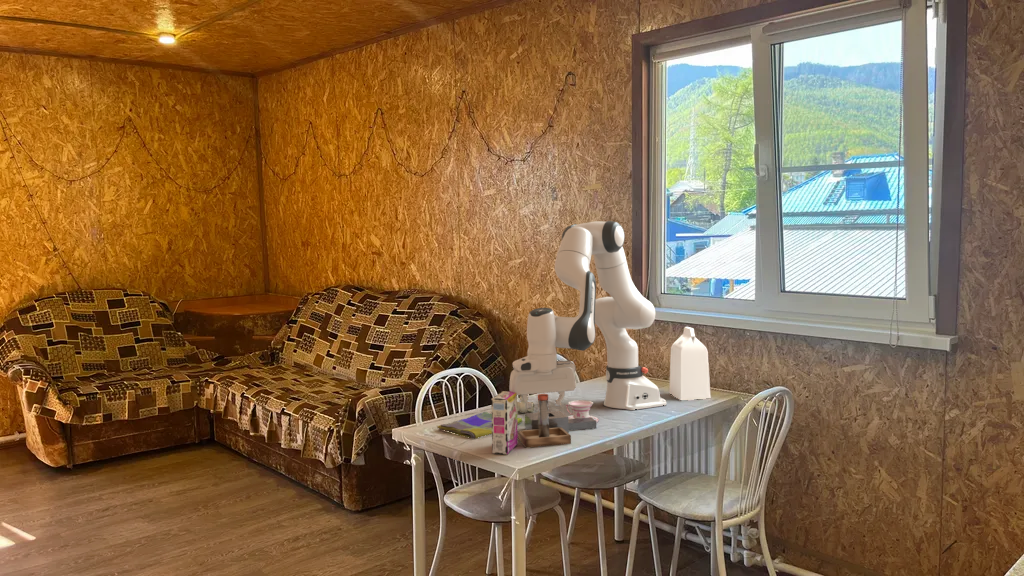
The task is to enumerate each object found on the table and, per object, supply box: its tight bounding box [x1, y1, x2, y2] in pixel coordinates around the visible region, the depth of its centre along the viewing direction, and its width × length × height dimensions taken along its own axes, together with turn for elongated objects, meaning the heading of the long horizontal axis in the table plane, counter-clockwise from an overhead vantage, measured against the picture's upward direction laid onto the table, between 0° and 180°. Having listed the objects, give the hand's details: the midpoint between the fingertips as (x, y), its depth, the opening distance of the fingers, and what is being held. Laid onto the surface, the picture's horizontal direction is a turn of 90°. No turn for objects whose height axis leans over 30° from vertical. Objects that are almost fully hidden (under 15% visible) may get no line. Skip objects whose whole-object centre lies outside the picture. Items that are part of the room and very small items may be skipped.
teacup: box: [565, 399, 600, 423], centre depth 259 cm, size 12×12×6 cm
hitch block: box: [524, 410, 597, 434], centre depth 249 cm, size 22×9×5 cm, turn 103°
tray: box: [518, 427, 572, 448], centre depth 235 cm, size 14×10×2 cm
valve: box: [517, 395, 535, 414], centre depth 271 cm, size 7×7×12 cm
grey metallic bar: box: [537, 393, 550, 438], centre depth 235 cm, size 3×3×14 cm
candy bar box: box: [491, 390, 519, 456], centre depth 228 cm, size 11×5×16 cm, turn 163°
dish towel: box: [436, 411, 523, 439], centre depth 254 cm, size 18×24×3 cm
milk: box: [668, 326, 712, 401], centre depth 289 cm, size 12×12×26 cm
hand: (543, 407), depth 235 cm, fingers open, 8 cm apart
